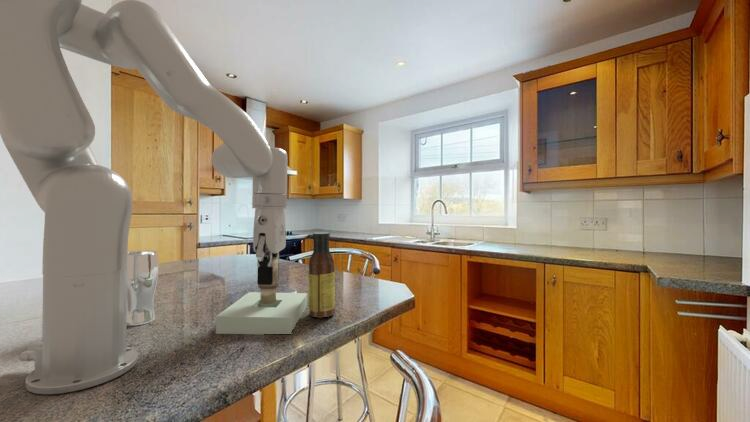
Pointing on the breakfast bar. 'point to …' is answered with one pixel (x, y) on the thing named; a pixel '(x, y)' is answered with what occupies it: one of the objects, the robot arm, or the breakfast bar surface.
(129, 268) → the beer glass
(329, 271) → the sauce bottle
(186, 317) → the breakfast bar surface
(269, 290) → the peg
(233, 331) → the seat board
